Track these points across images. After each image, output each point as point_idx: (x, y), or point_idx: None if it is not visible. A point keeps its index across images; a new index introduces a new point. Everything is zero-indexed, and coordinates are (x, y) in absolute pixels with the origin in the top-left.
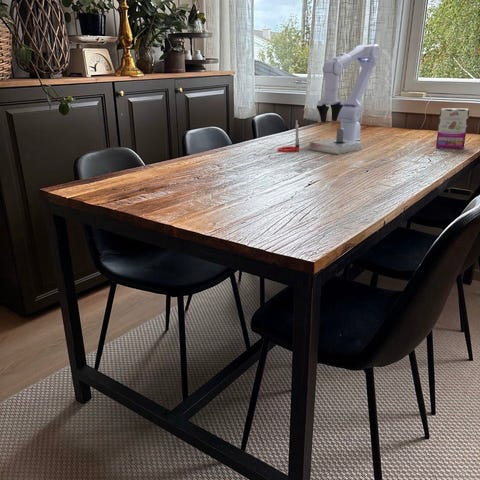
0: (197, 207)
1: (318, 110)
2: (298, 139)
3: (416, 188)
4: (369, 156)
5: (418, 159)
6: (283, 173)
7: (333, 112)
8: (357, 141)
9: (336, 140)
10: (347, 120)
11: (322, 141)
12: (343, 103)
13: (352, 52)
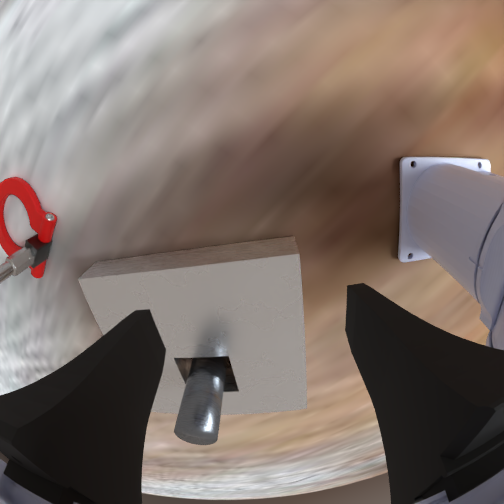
0: None
1: (32, 389)
2: (16, 273)
3: (147, 492)
4: (224, 439)
5: (292, 475)
6: (4, 385)
7: (390, 366)
8: (301, 395)
9: (187, 378)
10: (491, 291)
11: (145, 307)
12: None
13: None
